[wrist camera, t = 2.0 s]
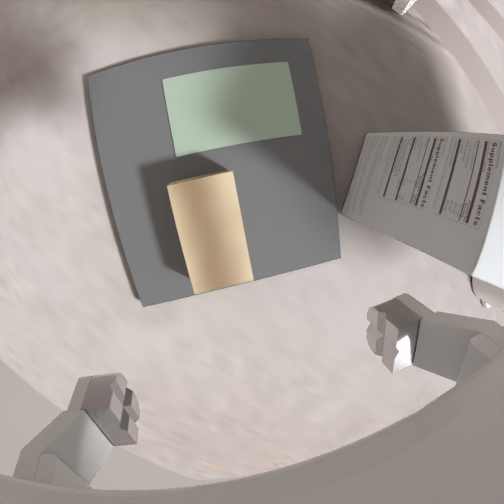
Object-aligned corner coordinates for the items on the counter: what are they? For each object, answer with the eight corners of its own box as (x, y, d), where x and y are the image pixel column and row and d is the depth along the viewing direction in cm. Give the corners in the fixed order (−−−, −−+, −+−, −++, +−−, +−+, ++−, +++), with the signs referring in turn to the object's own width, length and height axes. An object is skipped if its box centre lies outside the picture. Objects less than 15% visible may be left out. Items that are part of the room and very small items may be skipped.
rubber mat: (303, 42, 22) (307, 38, 21) (336, 254, 30) (341, 258, 29) (90, 78, 20) (87, 76, 19) (144, 302, 27) (142, 307, 26)
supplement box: (337, 214, 29) (468, 278, 13) (364, 130, 27) (506, 129, 11) (402, 239, 31) (516, 298, 16) (425, 166, 29) (547, 191, 13)
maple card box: (227, 169, 24) (232, 171, 21) (246, 267, 27) (253, 280, 25) (169, 182, 24) (166, 186, 21) (193, 280, 27) (194, 294, 24)
